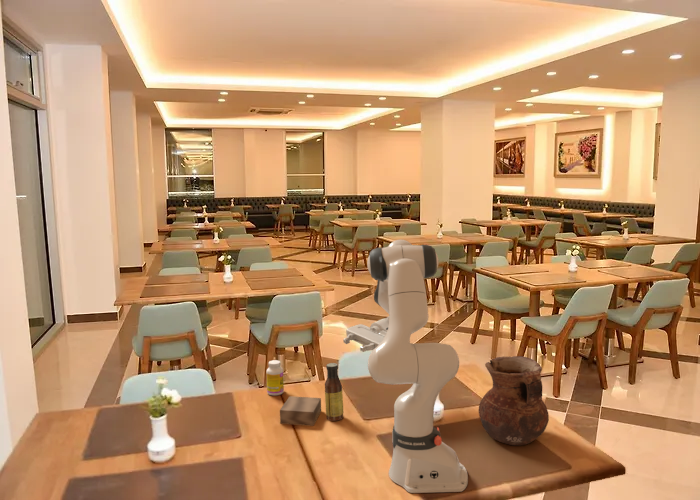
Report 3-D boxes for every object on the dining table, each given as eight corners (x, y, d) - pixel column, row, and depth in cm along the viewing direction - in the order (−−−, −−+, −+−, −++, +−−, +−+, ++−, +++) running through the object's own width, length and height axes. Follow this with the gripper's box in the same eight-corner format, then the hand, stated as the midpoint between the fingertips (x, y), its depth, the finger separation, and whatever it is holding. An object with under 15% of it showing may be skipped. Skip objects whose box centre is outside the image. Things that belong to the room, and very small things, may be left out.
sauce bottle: (346, 416, 194) (345, 363, 192) (337, 423, 189) (336, 369, 186) (331, 412, 198) (330, 360, 195) (321, 419, 193) (320, 365, 190)
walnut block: (321, 410, 199) (320, 398, 199) (313, 425, 188) (313, 412, 187) (289, 409, 201) (289, 396, 201) (280, 423, 190) (279, 410, 189)
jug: (466, 436, 178) (467, 364, 175) (496, 415, 193) (498, 348, 190) (530, 460, 163) (533, 381, 160) (558, 435, 178) (561, 362, 175)
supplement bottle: (282, 396, 213) (281, 364, 212) (265, 396, 213) (264, 365, 212) (284, 389, 220) (283, 359, 218) (268, 389, 220) (267, 359, 218)
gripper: (361, 317, 211) (334, 329, 202) (399, 332, 195) (370, 346, 187) (363, 332, 212) (335, 344, 204) (400, 348, 197) (372, 362, 189)
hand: (352, 345), depth 195 cm, fingers open, 8 cm apart
